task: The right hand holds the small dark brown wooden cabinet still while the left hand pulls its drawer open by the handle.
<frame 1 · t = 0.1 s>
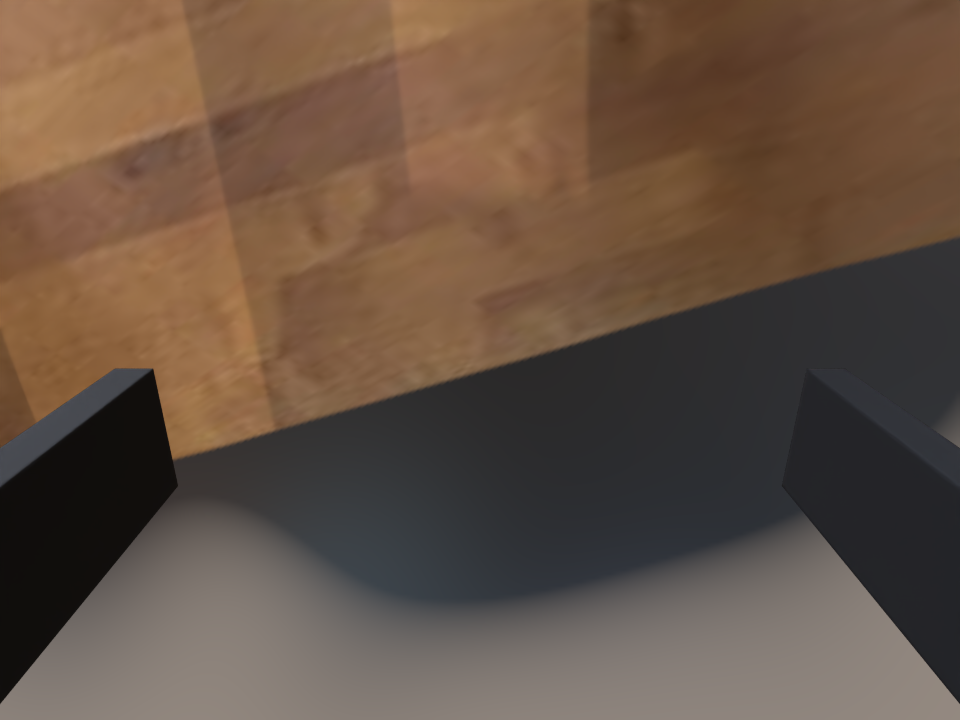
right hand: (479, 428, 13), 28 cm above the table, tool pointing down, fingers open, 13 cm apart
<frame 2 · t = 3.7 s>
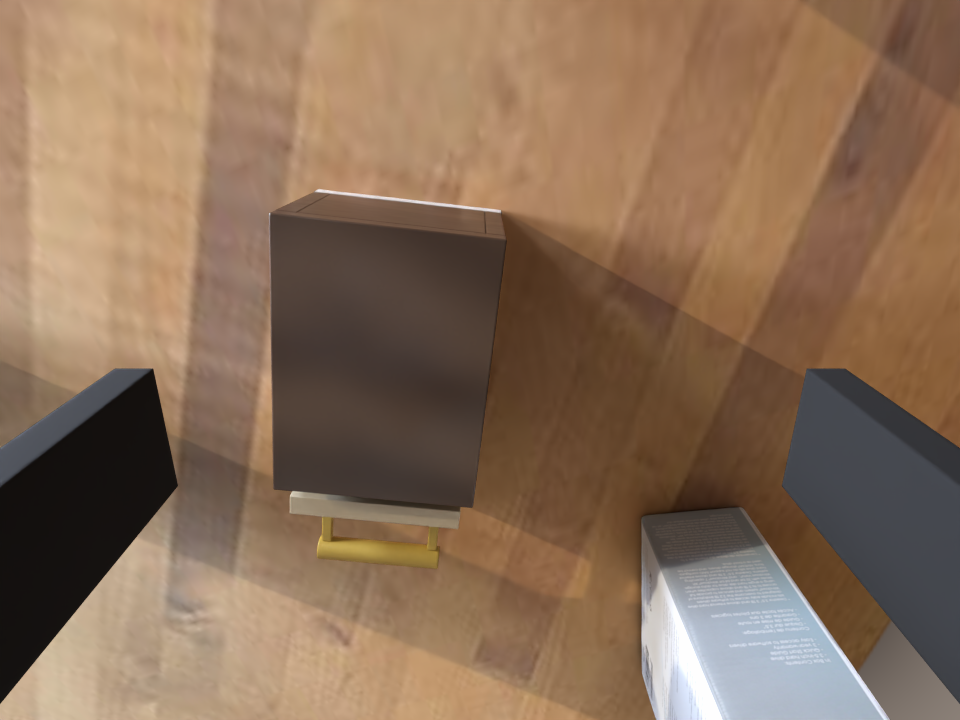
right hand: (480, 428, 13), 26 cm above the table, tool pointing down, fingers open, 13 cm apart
hard drive box: (688, 590, 47), on the table
drawer: (387, 431, 37), point 5 cm above the table, slide at 1.0 cm
cabinet: (402, 317, 39), on the table
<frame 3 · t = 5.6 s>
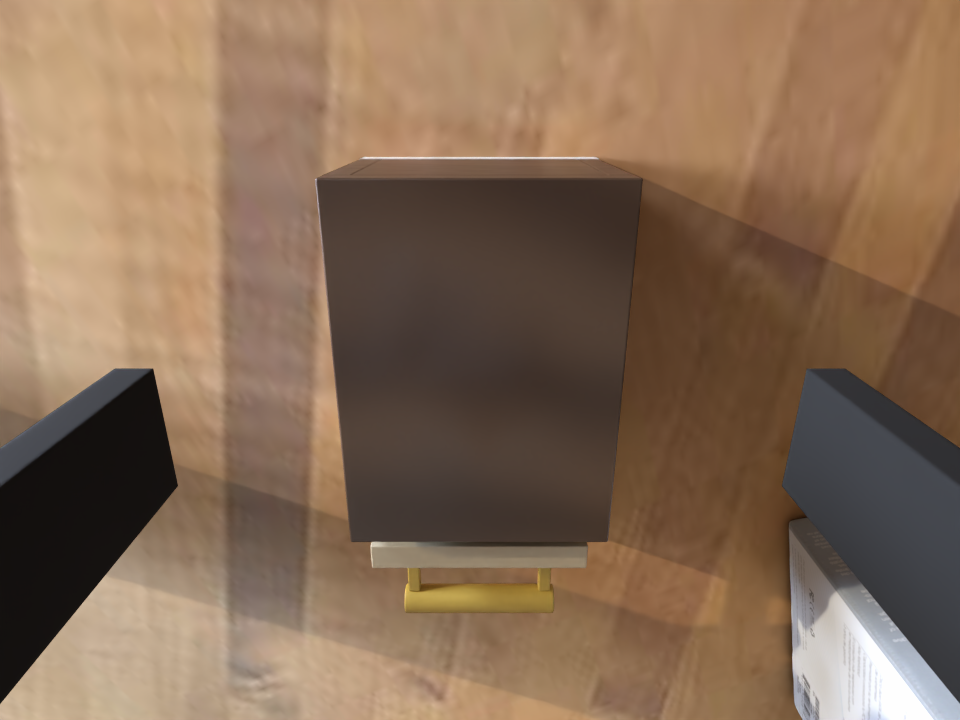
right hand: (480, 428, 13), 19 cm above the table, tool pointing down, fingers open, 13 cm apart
hard drive box: (848, 603, 39), on the table
drawer: (479, 451, 29), point 5 cm above the table, slide at 1.0 cm
cabinet: (479, 308, 31), on the table
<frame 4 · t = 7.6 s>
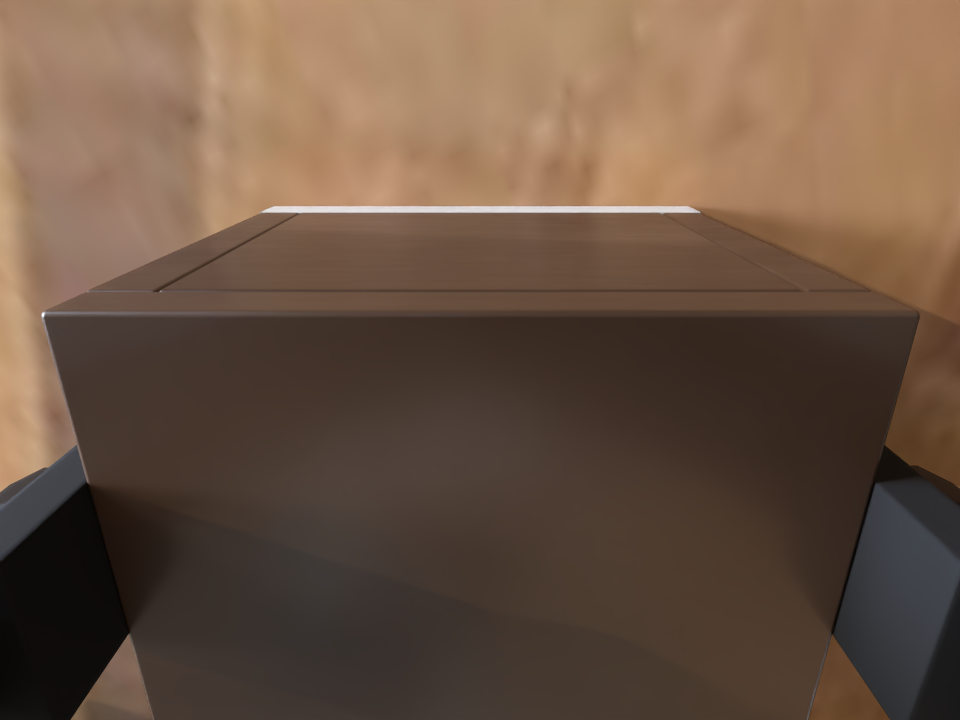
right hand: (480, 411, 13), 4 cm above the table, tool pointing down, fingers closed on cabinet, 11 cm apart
cabinet: (480, 453, 19), on the table, touching right hand
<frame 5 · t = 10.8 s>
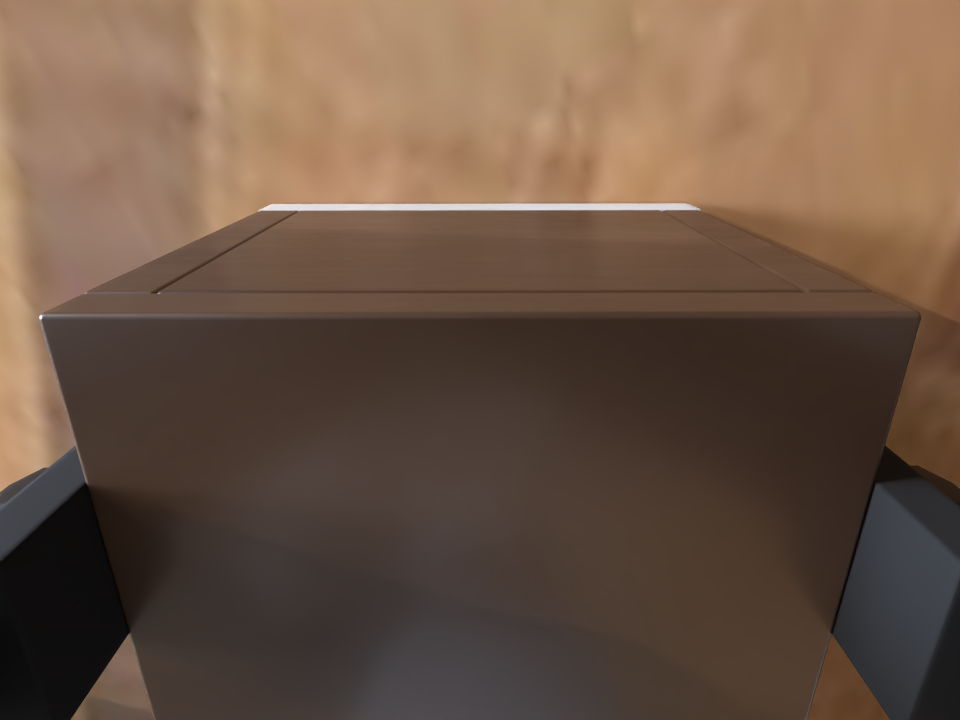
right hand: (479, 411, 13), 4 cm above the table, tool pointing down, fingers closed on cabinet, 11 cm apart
cabinet: (480, 451, 19), on the table, touching right hand
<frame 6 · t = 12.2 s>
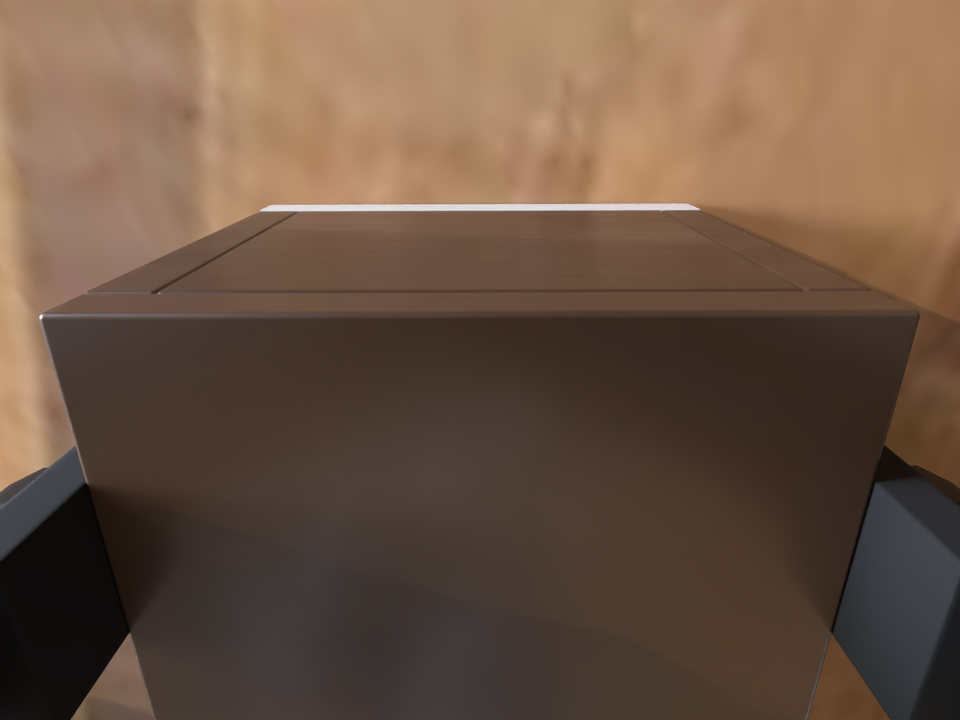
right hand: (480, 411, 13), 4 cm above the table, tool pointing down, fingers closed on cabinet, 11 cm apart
cabinet: (480, 451, 19), on the table, touching right hand
when the right hand's fingers open (4 cm above the table, at t = 14.0 s): cabinet stays where it is, on the table.
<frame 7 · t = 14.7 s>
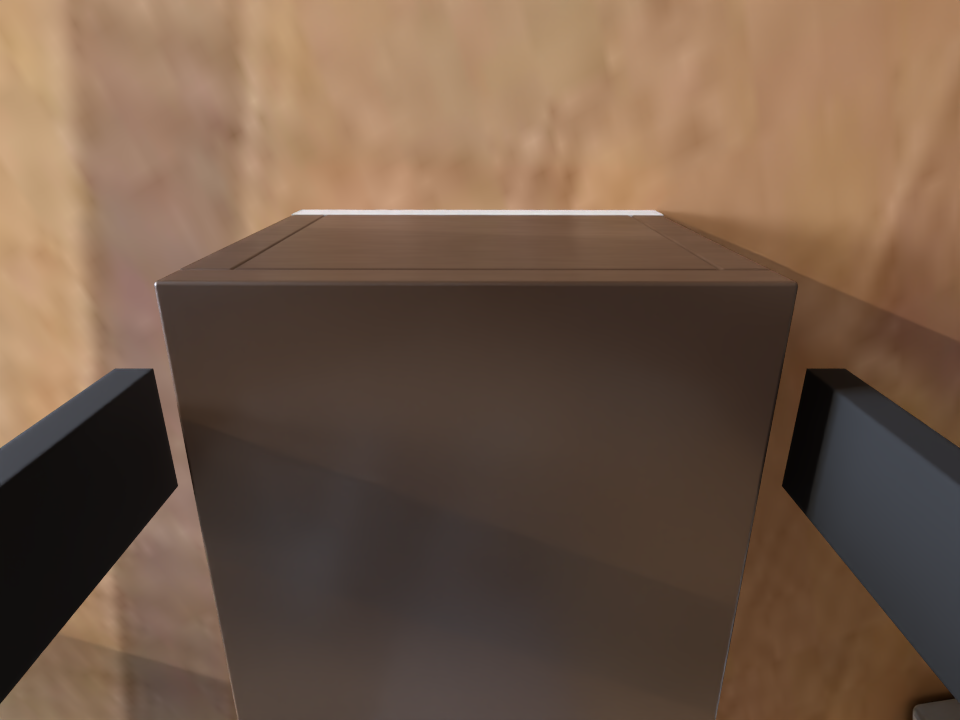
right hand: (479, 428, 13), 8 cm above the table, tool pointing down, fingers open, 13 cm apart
cabinet: (477, 426, 21), on the table
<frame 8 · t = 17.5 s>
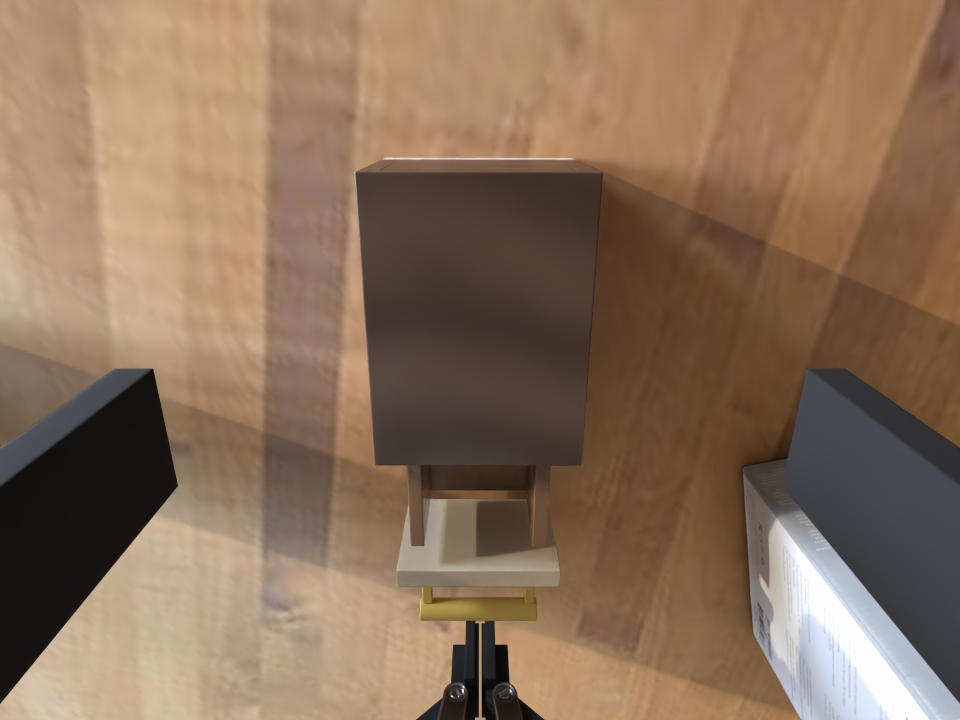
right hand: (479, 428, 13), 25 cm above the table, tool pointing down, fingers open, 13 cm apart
hard drive box: (796, 542, 45), on the table
drawer: (478, 496, 38), point 5 cm above the table, slide at 7.6 cm
cabinet: (478, 283, 38), on the table
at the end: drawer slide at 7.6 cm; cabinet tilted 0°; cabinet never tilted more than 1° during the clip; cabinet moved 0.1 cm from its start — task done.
